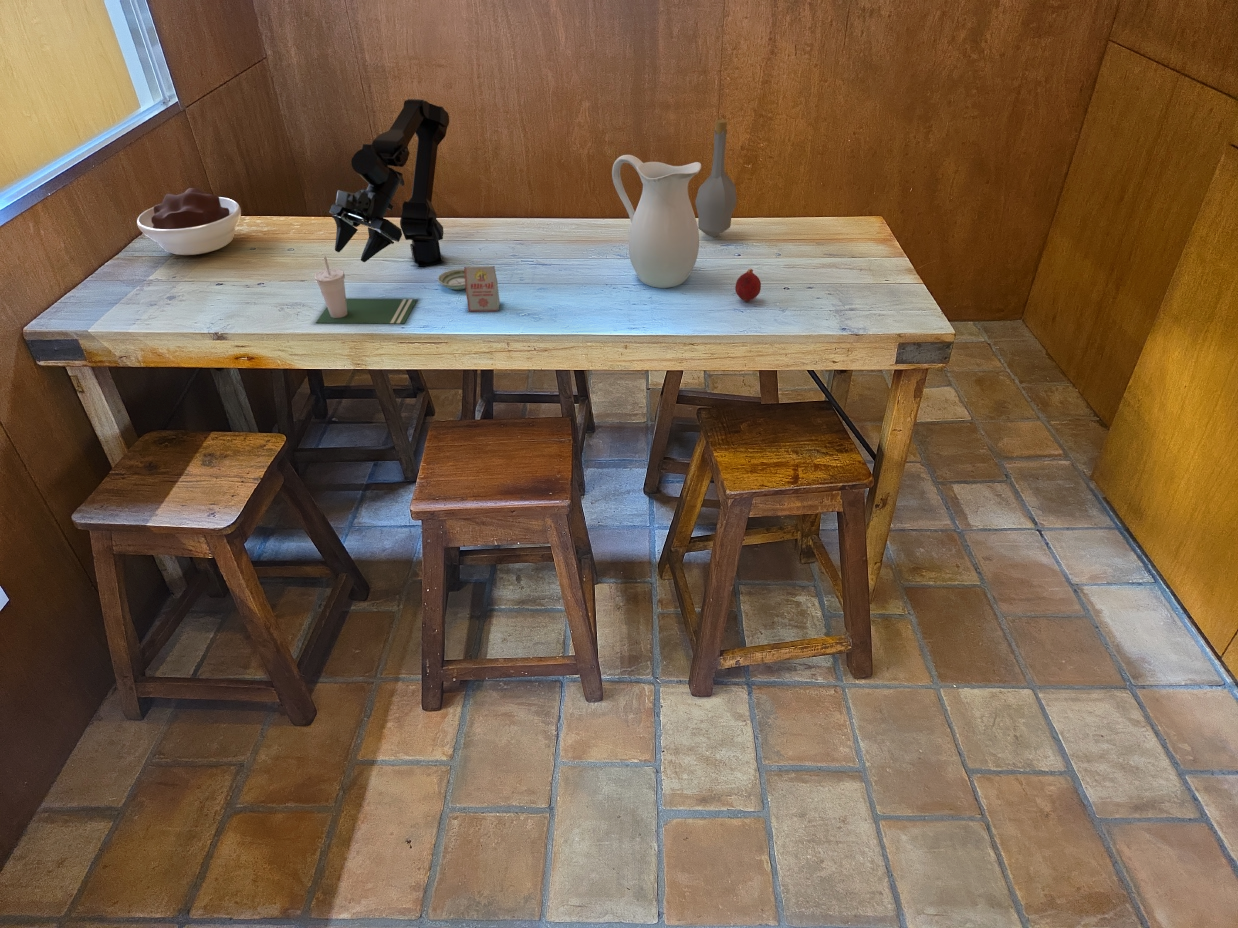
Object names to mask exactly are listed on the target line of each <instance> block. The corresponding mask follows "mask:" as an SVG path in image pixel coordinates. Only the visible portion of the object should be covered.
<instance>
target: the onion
mask: <svg viewBox="0 0 1238 928" xmlns="http://www.w3.org/2000/svg"><path fill="white" fill-rule="evenodd" d="M761 288H762V282H761V279H760V278H759V277H758V276H757V275H756V274H755V273H754V270H753V268H748V269H747V271H746V272H744V273H743V274H741V275H740V276H739V277H738V278H737V280H736V282H735V286H734V289H735V293H736V295H737V297H738V298H739V299H740V300H742V301H744V302H746V303H749V302H750V301H753V300H754V299H755V298H757V297H758V296H759V294H760V293H761V290H762V289H761Z"/></svg>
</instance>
